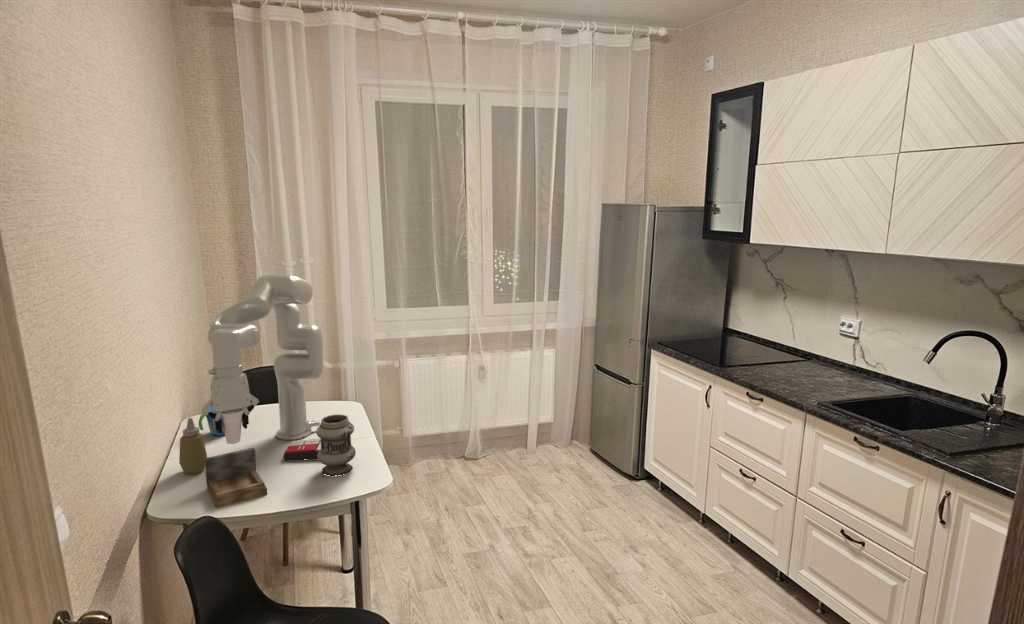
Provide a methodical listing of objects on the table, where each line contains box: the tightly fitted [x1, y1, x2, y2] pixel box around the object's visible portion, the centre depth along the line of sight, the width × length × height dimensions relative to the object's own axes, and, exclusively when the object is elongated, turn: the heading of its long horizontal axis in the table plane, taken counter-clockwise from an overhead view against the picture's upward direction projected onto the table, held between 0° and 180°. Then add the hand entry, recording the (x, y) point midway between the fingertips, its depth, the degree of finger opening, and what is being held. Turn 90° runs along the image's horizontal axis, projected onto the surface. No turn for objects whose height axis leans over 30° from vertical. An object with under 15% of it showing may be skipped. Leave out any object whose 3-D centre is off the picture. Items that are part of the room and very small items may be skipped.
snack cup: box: [198, 407, 225, 437], centre depth 221 cm, size 16×10×10 cm
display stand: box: [204, 447, 268, 508], centre depth 175 cm, size 14×14×10 cm
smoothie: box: [221, 409, 244, 445], centre depth 172 cm, size 6×6×14 cm
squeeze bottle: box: [178, 417, 208, 475], centre depth 188 cm, size 8×8×18 cm
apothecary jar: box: [315, 413, 356, 477], centre depth 190 cm, size 12×12×18 cm
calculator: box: [283, 438, 321, 462], centre depth 204 cm, size 11×4×15 cm
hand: (232, 429), depth 173 cm, fingers closed on smoothie, 6 cm apart
